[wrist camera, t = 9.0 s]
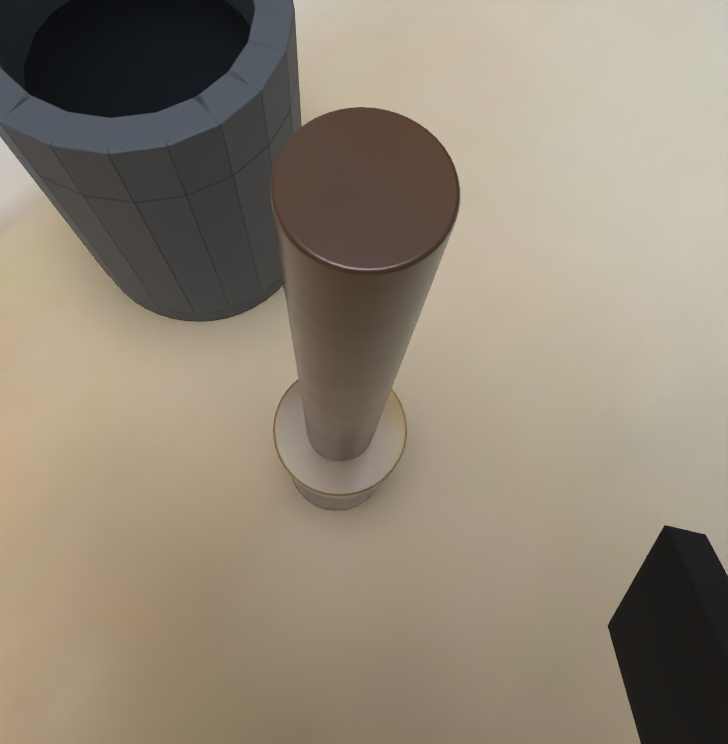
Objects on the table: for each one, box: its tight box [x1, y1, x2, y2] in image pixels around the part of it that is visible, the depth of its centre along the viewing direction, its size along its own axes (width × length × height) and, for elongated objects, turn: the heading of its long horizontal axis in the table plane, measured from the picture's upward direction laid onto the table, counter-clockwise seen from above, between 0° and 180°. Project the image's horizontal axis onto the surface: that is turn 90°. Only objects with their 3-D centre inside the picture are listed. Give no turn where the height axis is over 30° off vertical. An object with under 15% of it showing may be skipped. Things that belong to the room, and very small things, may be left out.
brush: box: [270, 107, 460, 510], centre depth 18 cm, size 4×4×22 cm
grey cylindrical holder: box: [0, 0, 301, 321], centre depth 25 cm, size 10×10×13 cm
